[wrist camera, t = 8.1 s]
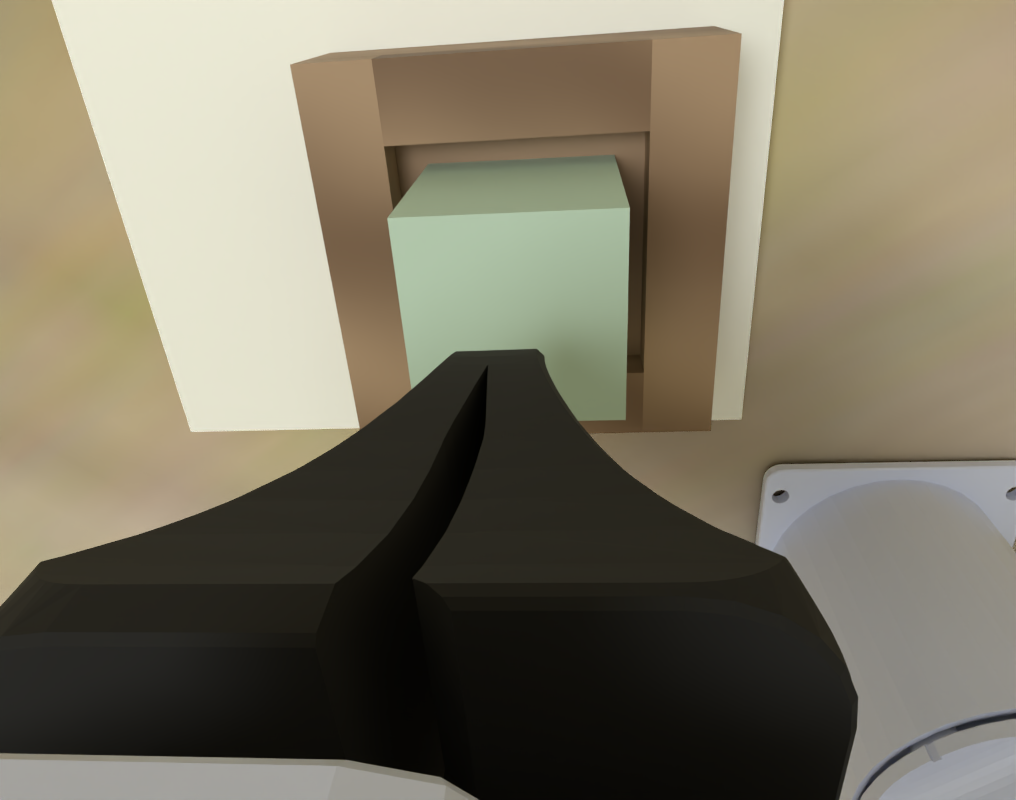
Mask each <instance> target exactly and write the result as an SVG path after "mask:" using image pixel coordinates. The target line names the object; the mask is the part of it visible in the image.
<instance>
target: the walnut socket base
mask: <svg viewBox="0 0 1016 800" xmlns="http://www.w3.org/2000/svg"><path fill="white" fill-rule="evenodd" d="M741 37H742V33H738V32H734V31H731V30H727V29H724V28H720V27H716V26H706V27H692V28H678V29H663V30H649V31H635V32H621V33H606V34H592V35H578V36H563V37H549V38H535V39H520V40H506V41H492V42H477V43H463V44H449V45H434V46H420V47H406V48H391V49H377V50H363V51H349V52H334V53H328V54H324V55H321V56H318V57H314V58H311V59H307V60H304V61H300V62H297V63H294V64H290V68H291V73H292V79H293V84H294V89H295V94H296V99H297V105H298V110H299V115H300V120H301V125H302V131H303V136H304V141H305V146H306V151H307V157H308V162H309V167H310V172H311V177H312V183H313V188H314V193H315V198H316V203H317V209H318V214H319V219H320V224H321V229H322V235H323V240H324V245H325V250H326V255H327V261H328V266H329V271H330V276H331V281H332V287H333V292H334V297H335V302H336V307H337V313H338V318H339V323H340V328H341V333H342V339H343V344H344V349H345V354H346V359H347V365H348V370H349V375H350V380H351V385H352V391H353V396H354V401H355V406H356V411H357V417H358V422H359V427H360V430H361V429H362V428H363V427H365V426H366V425H367V424H369V423H370V422H371V421H373V420H374V419H375V418H376V417H378V416H379V415H380V414H382V413H383V412H384V411H386V410H387V409H388V408H390V407H391V406H392V405H394V404H395V403H396V402H397V401H399V400H400V399H401V398H402V397H403V396H404V395H406V394H407V393H408V392H409V391H410V390H411V383H410V376H409V369H408V361H407V354H406V347H405V340H404V333H403V326H402V319H401V312H400V305H399V298H398V291H397V284H396V276H395V269H394V262H393V255H392V248H391V241H390V234H389V227H388V220H387V218H388V216H389V215H390V214H391V212H392V211H393V210H394V209H395V207H396V206H397V205H398V203H399V202H400V201H401V199H402V198H403V197H404V195H405V194H406V193H407V191H408V190H409V189H410V187H411V186H412V185H413V183H414V182H415V181H416V180H417V178H418V177H419V176H420V174H421V173H422V172H423V170H424V169H425V168H426V166H427V165H428V164H434V163H454V162H475V161H495V160H516V159H536V158H556V157H577V156H597V155H615V159H616V162H617V166H618V169H619V172H620V176H621V179H622V183H623V186H624V189H625V193H626V196H627V200H628V203H629V206H630V227H629V277H628V327H627V378H626V420H596V421H579V423H580V424H581V425H582V426H583V427H584V429H585V430H586V431H587V432H588V433H627V432H674V431H711V419H712V406H713V394H714V381H715V368H716V355H717V343H718V330H719V317H720V304H721V292H722V279H723V266H724V254H725V241H726V228H727V215H728V203H729V190H730V177H731V164H732V152H733V139H734V126H735V113H736V101H737V88H738V75H739V62H740V50H741Z"/></svg>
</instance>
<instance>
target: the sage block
mask: <svg viewBox="0 0 1016 800" xmlns="http://www.w3.org/2000/svg"><path fill="white" fill-rule="evenodd" d="M387 220H388V227H389V234H390V241H391V248H392V255H393V262H394V269H395V276H396V284H397V291H398V298H399V305H400V312H401V319H402V326H403V333H404V340H405V347H406V354H407V361H408V369H409V376H410V383H411V389H413V388H414V387H415V386H416V385H417V384H418V383H419V382H421V381H422V380H423V379H424V378H425V377H426V376H427V375H429V374H430V373H431V372H432V371H433V370H434V369H435V368H436V367H437V366H439V365H440V364H441V363H442V362H443V361H444V360H445V359H446V358H448V357H449V356H450V355H451V354H453V353H454V352H455V351H483V350H515V349H538V350H539V351H540V352H541V353H542V354H543V355H544V356H545V364H546V367H547V370H548V372H549V375H550V377H551V379H552V381H553V383H554V385H555V386H556V388H557V390H558V392H559V393H560V395H561V396H562V398H563V400H564V401H565V403H566V404H567V406H568V407H569V409H570V410H571V412H572V413H573V415H574V416H575V417H576V419H577V420H578V421H596V420H626V378H627V327H628V277H629V227H630V206H629V203H628V200H627V196H626V193H625V189H624V186H623V183H622V179H621V176H620V172H619V169H618V166H617V162H616V159H615V155H597V156H577V157H556V158H536V159H516V160H495V161H475V162H454V163H434V164H428V165H427V166H426V168H425V169H424V170H423V172H422V173H421V174H420V176H419V177H418V178H417V180H416V181H415V182H414V183H413V185H412V186H411V187H410V189H409V190H408V191H407V193H406V194H405V195H404V197H403V198H402V199H401V201H400V202H399V203H398V205H397V206H396V207H395V209H394V210H393V211H392V212H391V214H390V215H389V216H388V218H387Z"/></svg>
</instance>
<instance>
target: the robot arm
mask: <svg viewBox="0 0 1016 800" xmlns="http://www.w3.org/2000/svg"><path fill="white" fill-rule="evenodd" d="M1012 487H1016V460H999V461H940V462H882V463H823V464H780V465H775V466H773V467H771V468H769V469H768V470H767V471H766V472H765V474H764V477H763V484H762V492H761V500H760V508H759V517H758V525H757V533H756V541H755V544H753V543H751V542H749V541H746V540H744V539H741V538H739V537H737V536H734V535H732V534H729V533H727V532H725V531H722V530H720V529H718V528H716V527H714V526H712V525H710V524H708V523H706V522H704V521H702V520H700V519H699V518H697V517H695V516H693V515H691V514H689V513H687V512H686V511H684V510H682V509H680V508H678V507H677V506H675V505H673V504H672V503H670V502H669V501H667V500H665V499H664V498H662V497H660V496H659V495H657V494H656V493H654V492H653V491H652V490H650V489H649V488H647V487H646V486H645V485H643V484H642V483H641V482H639V481H638V480H636V479H635V478H634V477H632V476H631V475H629V474H628V473H627V472H626V471H625V470H623V469H622V468H621V467H620V466H619V465H618V464H617V463H616V462H615V461H614V460H613V459H612V458H611V457H610V456H609V455H608V454H607V453H606V452H605V451H604V450H603V449H602V448H601V447H600V446H599V445H598V444H597V443H596V442H595V441H594V440H593V438H592V437H591V436H590V435H589V434H588V432H587V431H586V430H585V429H584V427H583V426H582V425H581V424H580V423H579V421H578V420H577V419H576V417H575V416H574V415H573V413H572V412H571V410H570V409H569V407H568V406H567V404H566V403H565V401H564V400H563V398H562V396H561V395H560V393H559V392H558V390H557V388H556V386H555V385H554V383H553V381H552V379H551V377H550V375H549V372H548V370H547V367H546V364H545V356H544V355H543V354H542V353H541V352H540V351H539V350H538V349H515V350H483V351H455V352H454V353H453V354H451V355H450V356H449V357H448V358H446V359H445V360H444V361H443V362H442V363H441V364H440V365H439V366H437V367H436V368H435V369H434V370H433V371H432V372H431V373H430V374H429V375H427V376H426V377H425V378H424V379H423V380H422V381H421V382H419V383H418V384H417V385H416V386H415V387H414V388H413V389H411V390H410V391H409V392H408V393H407V394H406V395H404V396H403V397H402V398H401V399H400V400H399V401H397V402H396V403H395V404H394V405H392V406H391V407H390V408H388V409H387V410H386V411H384V412H383V413H382V414H380V415H379V416H378V417H376V418H375V419H374V420H373V421H371V422H370V423H369V424H367V425H366V426H365V427H363V428H362V429H361V430H359V431H358V432H357V433H355V434H354V435H352V436H351V437H349V438H348V439H346V440H345V441H343V442H342V443H340V444H339V445H337V446H336V447H334V448H333V449H331V450H329V451H328V452H326V453H324V454H323V455H321V456H319V457H317V458H316V459H314V460H312V461H311V462H309V463H307V464H305V465H304V466H302V467H300V468H298V469H296V470H295V471H293V472H291V473H289V474H286V475H284V476H282V477H280V478H278V479H276V480H274V481H272V482H270V483H268V484H266V485H263V486H261V487H259V488H257V489H255V490H253V491H251V492H249V493H247V494H245V495H243V496H241V497H238V498H236V499H234V500H231V501H229V502H227V503H224V504H222V505H219V506H217V507H214V508H212V509H209V510H207V511H204V512H202V513H199V514H196V515H194V516H191V517H188V518H185V519H183V520H180V521H177V522H174V523H171V524H169V525H166V526H163V527H160V528H157V529H154V530H151V531H148V532H145V533H142V534H139V535H136V536H132V537H129V538H125V539H122V540H118V541H115V542H111V543H108V544H104V545H101V546H97V547H94V548H90V549H87V550H83V551H80V552H76V553H73V554H69V555H66V556H62V557H58V558H54V559H50V560H46V561H42V562H40V563H39V564H38V565H37V566H36V568H35V569H34V570H33V571H32V572H31V573H30V574H29V575H28V577H27V578H26V579H25V580H24V581H23V582H22V583H21V584H20V585H19V587H18V588H17V589H16V590H15V591H14V592H13V593H12V594H11V595H10V597H9V598H8V599H7V600H6V601H5V602H4V603H3V604H2V605H1V606H0V800H1016V552H1015V551H1014V550H1013V545H1014V542H1015V539H1016V489H1015V490H1013V491H1012V492H1008V493H1007V491H1008V490H1009V489H1011V488H1012ZM778 490H785V492H784V493H783V494H782V495H779V496H774V495H773V493H775V492H776V491H778Z"/></svg>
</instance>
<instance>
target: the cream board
mask: <svg viewBox="0 0 1016 800" xmlns="http://www.w3.org/2000/svg"><path fill="white" fill-rule="evenodd" d="M52 3H53V6H54V9H55V12H56V15H57V18H58V21H59V25H60V28H61V31H62V34H63V37H64V40H65V43H66V46H67V49H68V52H69V56H70V59H71V62H72V65H73V68H74V71H75V74H76V77H77V80H78V83H79V86H80V90H81V93H82V96H83V99H84V102H85V105H86V108H87V111H88V114H89V117H90V121H91V124H92V127H93V130H94V133H95V136H96V139H97V142H98V145H99V148H100V151H101V155H102V158H103V161H104V164H105V167H106V170H107V173H108V176H109V179H110V182H111V186H112V189H113V192H114V195H115V198H116V201H117V204H118V207H119V210H120V213H121V216H122V220H123V223H124V226H125V229H126V232H127V235H128V238H129V241H130V244H131V247H132V251H133V254H134V257H135V260H136V263H137V266H138V269H139V272H140V275H141V278H142V281H143V285H144V288H145V291H146V294H147V297H148V300H149V303H150V306H151V309H152V312H153V315H154V319H155V322H156V325H157V328H158V331H159V334H160V337H161V340H162V343H163V346H164V350H165V353H166V356H167V359H168V362H169V365H170V368H171V371H172V374H173V377H174V380H175V384H176V387H177V390H178V393H179V396H180V399H181V402H182V405H183V408H184V411H185V415H186V418H187V421H188V424H189V427H190V430H191V432H209V431H253V430H297V429H342V428H360V427H359V422H358V417H357V411H356V406H355V401H354V396H353V391H352V385H351V380H350V375H349V370H348V365H347V359H346V354H345V349H344V344H343V339H342V333H341V328H340V323H339V318H338V313H337V307H336V302H335V297H334V292H333V287H332V281H331V276H330V271H329V266H328V261H327V255H326V250H325V245H324V240H323V235H322V229H321V224H320V219H319V214H318V209H317V203H316V198H315V193H314V188H313V183H312V177H311V172H310V167H309V162H308V157H307V151H306V146H305V141H304V136H303V131H302V125H301V120H300V115H299V110H298V105H297V99H296V94H295V89H294V84H293V79H292V73H291V68H290V64H294V63H297V62H300V61H304V60H307V59H311V58H314V57H318V56H321V55H324V54H328V53H334V52H349V51H363V50H377V49H391V48H406V47H420V46H434V45H449V44H463V43H477V42H492V41H506V40H520V39H535V38H549V37H563V36H578V35H592V34H606V33H621V32H635V31H649V30H663V29H678V28H692V27H706V26H716V27H720V28H724V29H727V30H731V31H734V32H738V33H742V37H741V50H740V62H739V75H738V88H737V101H736V113H735V126H734V139H733V152H732V164H731V177H730V190H729V203H728V215H727V228H726V241H725V254H724V266H723V279H722V292H721V304H720V317H719V330H718V343H717V355H716V368H715V381H714V394H713V406H712V419H711V420H741V419H742V410H743V400H744V390H745V380H746V370H747V361H748V351H749V341H750V331H751V321H752V311H753V301H754V292H755V282H756V272H757V262H758V252H759V242H760V233H761V223H762V213H763V203H764V193H765V183H766V173H767V164H768V154H769V144H770V134H771V124H772V114H773V104H774V95H775V85H776V75H777V65H778V55H779V45H780V36H781V26H782V16H783V6H784V0H52Z"/></svg>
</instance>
